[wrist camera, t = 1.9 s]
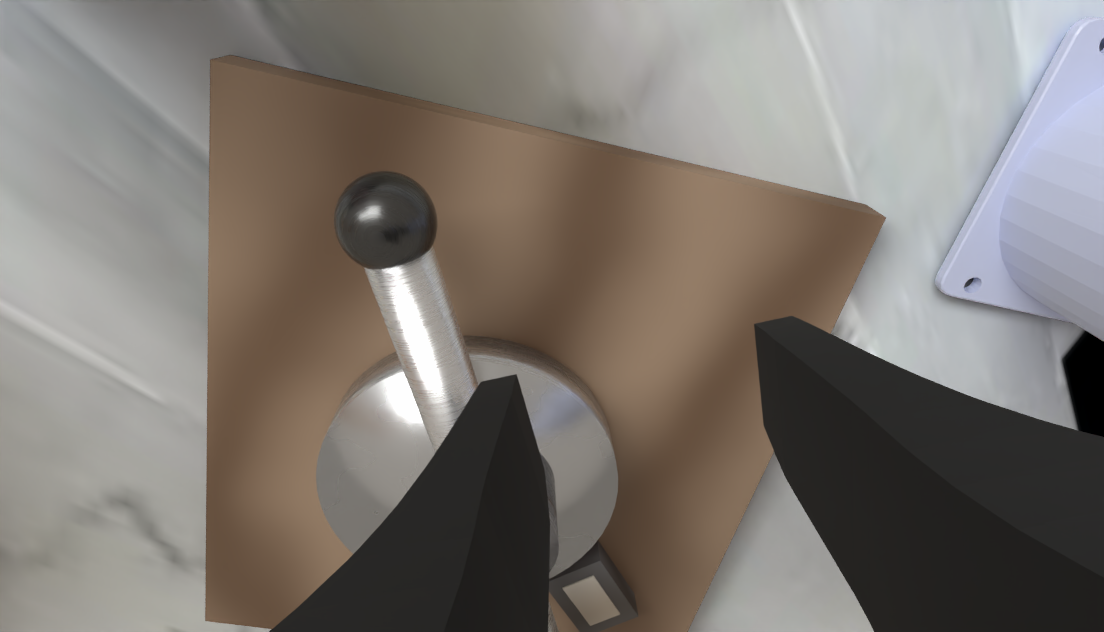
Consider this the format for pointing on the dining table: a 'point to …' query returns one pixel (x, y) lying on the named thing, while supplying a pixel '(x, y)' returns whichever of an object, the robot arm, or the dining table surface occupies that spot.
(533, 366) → the ball knob lever
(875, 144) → the dining table surface
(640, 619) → the stand
